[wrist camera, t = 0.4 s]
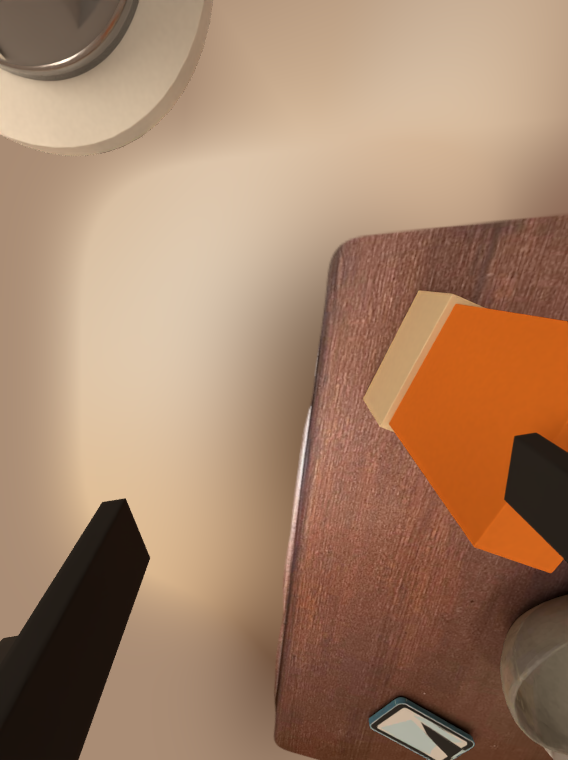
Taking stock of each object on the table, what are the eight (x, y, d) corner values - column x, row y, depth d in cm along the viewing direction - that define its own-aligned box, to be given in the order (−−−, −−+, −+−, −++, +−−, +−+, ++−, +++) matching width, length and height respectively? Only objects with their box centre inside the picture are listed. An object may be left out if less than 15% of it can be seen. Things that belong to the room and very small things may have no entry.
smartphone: (401, 700, 44) (478, 744, 46) (399, 692, 45) (474, 735, 47) (366, 726, 46) (441, 766, 48) (365, 717, 46) (438, 757, 49)
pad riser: (418, 290, 28) (452, 293, 22) (468, 311, 28) (514, 320, 22) (362, 399, 31) (379, 426, 25) (407, 416, 31) (435, 447, 26)
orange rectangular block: (455, 303, 22) (636, 331, 11) (504, 324, 22) (727, 374, 11) (388, 423, 25) (473, 547, 14) (432, 440, 25) (551, 574, 14)
